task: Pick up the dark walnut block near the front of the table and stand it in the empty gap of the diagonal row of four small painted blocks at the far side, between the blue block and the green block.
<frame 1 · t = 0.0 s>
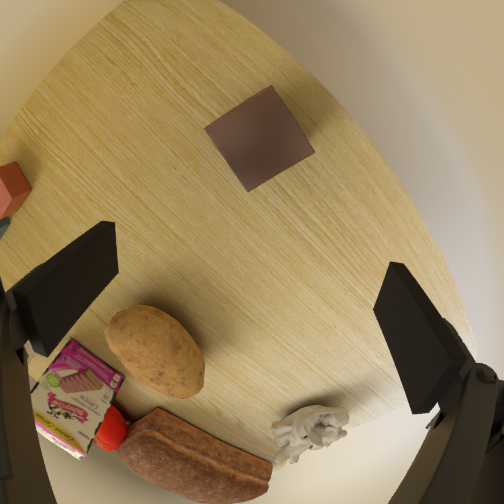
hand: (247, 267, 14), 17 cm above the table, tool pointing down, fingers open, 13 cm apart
potato: (169, 330, 37), on the table
figurine: (309, 413, 43), on the table
ink box: (31, 338, 43), on the table
block a: (16, 186, 30), on the table
bread: (198, 447, 51), on the table, touching tomato
candy bar box: (94, 361, 42), on the table
tomato: (105, 404, 48), on the table, touching bread
walnut block: (263, 134, 27), on the table
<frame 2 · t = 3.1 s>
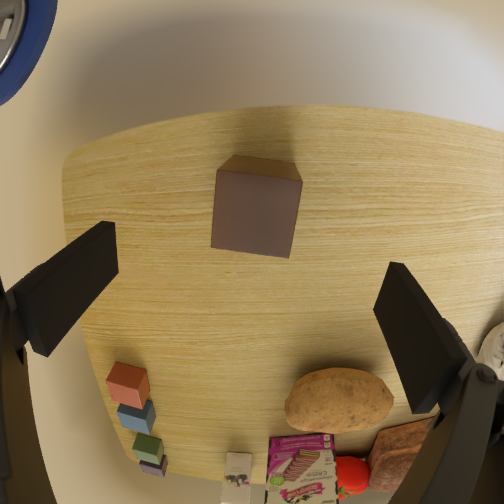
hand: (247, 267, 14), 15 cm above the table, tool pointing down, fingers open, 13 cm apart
potato: (336, 376, 37), on the table
block c: (151, 441, 49), on the table
figurine: (493, 337, 33), on the table
ink box: (240, 459, 49), on the table
block a: (133, 376, 40), on the table
block d: (156, 456, 53), on the table
bread: (432, 432, 44), on the table, touching tomato
candy bar box: (301, 439, 44), on the table
tomato: (337, 459, 48), on the table, touching bread
walnut block: (260, 188, 27), on the table
block b: (140, 405, 43), on the table
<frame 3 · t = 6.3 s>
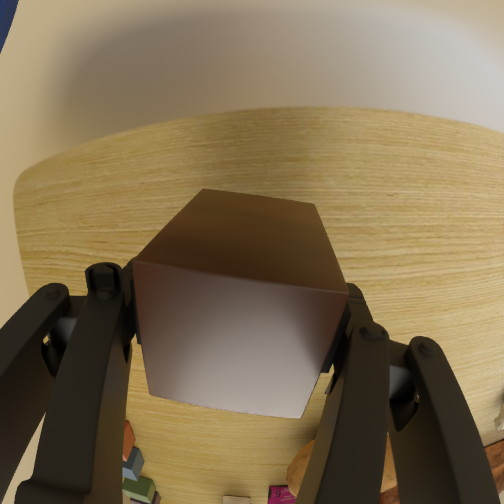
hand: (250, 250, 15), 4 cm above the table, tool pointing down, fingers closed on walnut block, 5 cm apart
potato: (347, 435, 28), on the table
block c: (141, 480, 41), on the table
ink box: (237, 501, 41), on the table
block a: (115, 425, 32), on the table
block d: (148, 492, 44), on the table
bread: (446, 472, 35), on the table, touching tomato
candy bar box: (304, 487, 36), on the table
walnut block: (251, 247, 16), point 4 cm above the table, touching gripper
block b: (126, 450, 35), on the table
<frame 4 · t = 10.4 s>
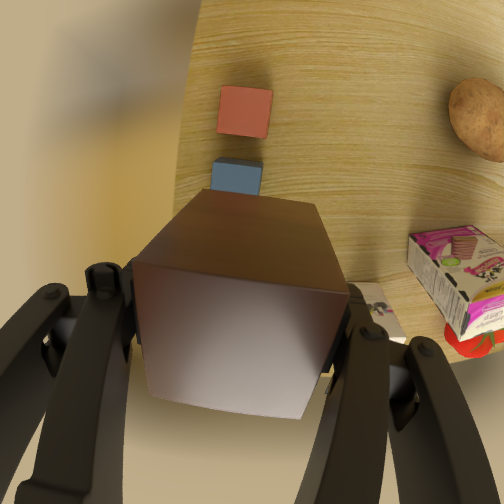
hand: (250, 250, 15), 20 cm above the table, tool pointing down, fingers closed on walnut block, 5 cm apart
potato: (473, 119, 28), on the table
ink box: (356, 306, 40), on the table
block a: (247, 112, 31), on the table
candy bar box: (440, 242, 35), on the table
tomato: (469, 301, 39), on the table, touching bread
walnut block: (251, 247, 16), point 20 cm above the table, touching gripper
block b: (238, 180, 34), on the table
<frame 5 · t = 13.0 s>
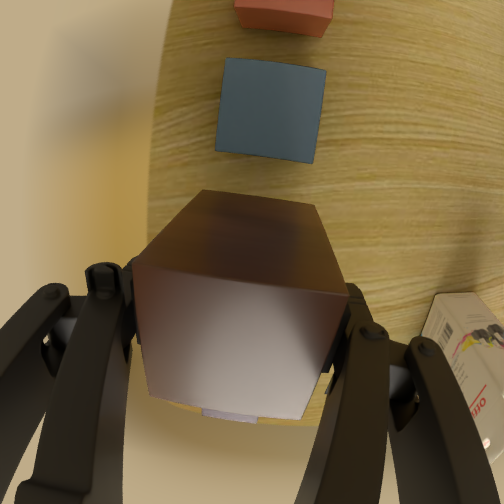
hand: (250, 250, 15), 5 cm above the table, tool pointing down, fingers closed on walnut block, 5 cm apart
ink box: (440, 328, 23), on the table
block a: (286, 0, 14), on the table
block d: (236, 372, 26), on the table
walnut block: (251, 248, 16), point 5 cm above the table, touching gripper
block b: (271, 111, 17), on the table
when the fingers open (0 cm above the table, at t = 14.7 s): walnut block stays where it is, on the table.
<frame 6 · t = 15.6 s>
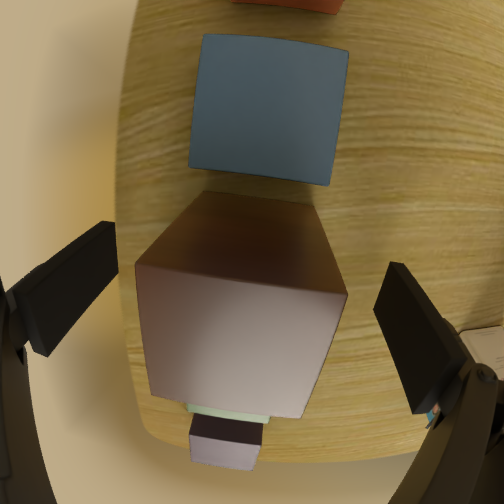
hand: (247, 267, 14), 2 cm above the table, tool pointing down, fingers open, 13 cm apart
block c: (238, 347, 19), on the table
ink box: (461, 365, 19), on the table
block d: (229, 415, 22), on the table
walnut block: (251, 248, 16), on the table
block b: (269, 109, 13), on the table
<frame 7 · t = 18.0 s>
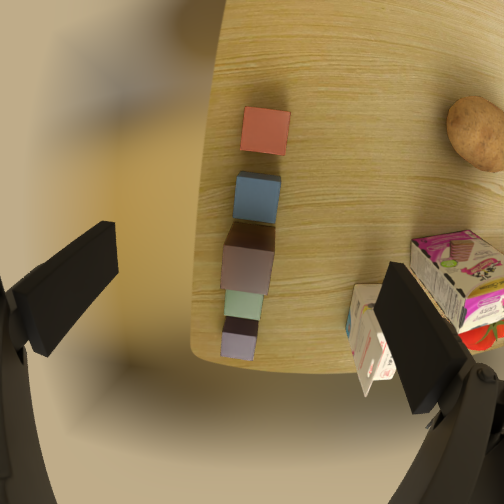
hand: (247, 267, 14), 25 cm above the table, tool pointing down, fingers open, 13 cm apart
potato: (469, 132, 31), on the table
block c: (246, 287, 44), on the table
ink box: (364, 306, 44), on the table
block a: (266, 130, 35), on the table
block d: (240, 330, 47), on the table
candy bar box: (439, 246, 39), on the table
tomato: (474, 299, 42), on the table, touching bread
walnut block: (252, 243, 41), on the table
block b: (258, 192, 38), on the table
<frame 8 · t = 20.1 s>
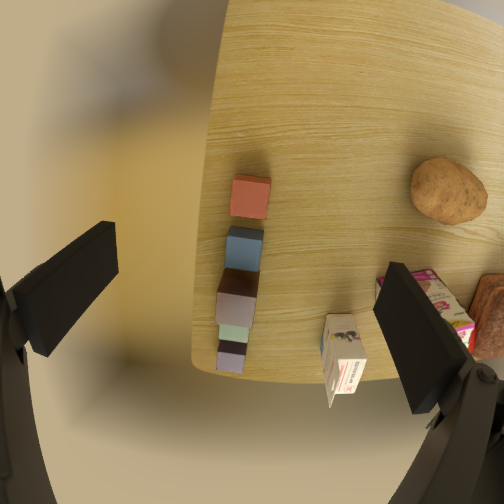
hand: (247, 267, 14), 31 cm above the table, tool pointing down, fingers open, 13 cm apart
potato: (436, 185, 40), on the table
block c: (236, 316, 52), on the table
ink box: (335, 330, 53), on the table
block a: (251, 192, 43), on the table
block d: (233, 348, 56), on the table
candy bar box: (403, 283, 48), on the table
walnut block: (241, 282, 50), on the table
block b: (245, 243, 47), on the table
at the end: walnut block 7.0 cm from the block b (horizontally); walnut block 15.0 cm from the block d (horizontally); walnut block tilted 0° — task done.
